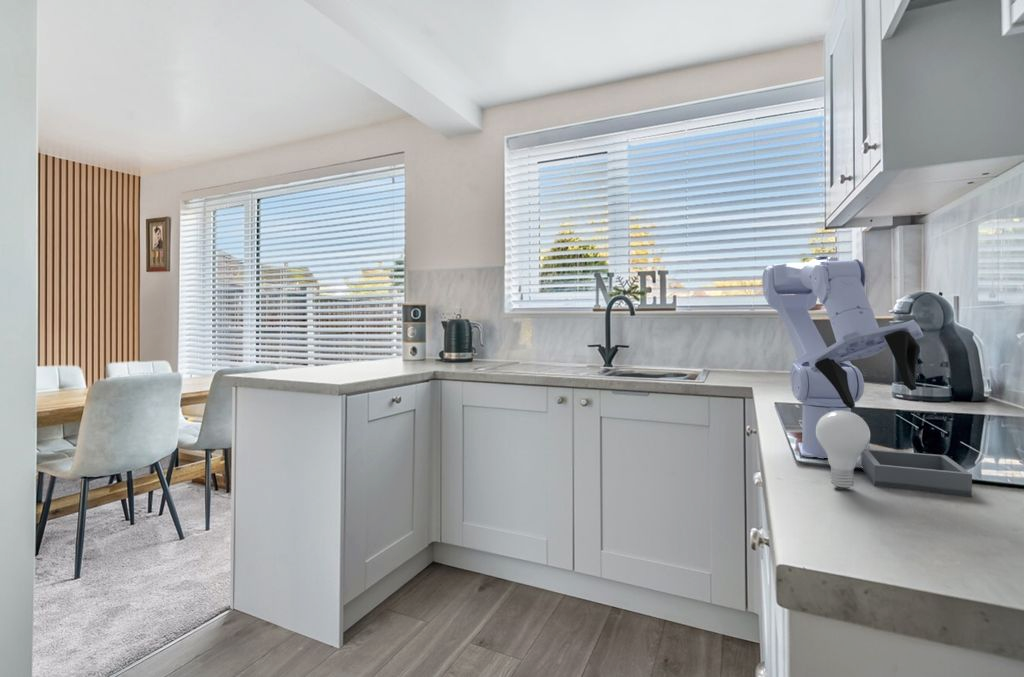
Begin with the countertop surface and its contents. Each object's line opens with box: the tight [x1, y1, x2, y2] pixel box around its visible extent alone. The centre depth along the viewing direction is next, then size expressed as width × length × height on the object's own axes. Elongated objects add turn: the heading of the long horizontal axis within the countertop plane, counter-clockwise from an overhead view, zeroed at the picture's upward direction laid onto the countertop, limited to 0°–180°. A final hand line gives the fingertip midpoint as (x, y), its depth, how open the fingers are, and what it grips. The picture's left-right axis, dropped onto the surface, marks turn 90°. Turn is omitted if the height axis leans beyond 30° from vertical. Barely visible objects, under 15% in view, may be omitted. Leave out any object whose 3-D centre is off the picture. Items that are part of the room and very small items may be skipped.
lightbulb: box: [816, 410, 871, 491], centre depth 70 cm, size 6×6×11 cm
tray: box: [860, 448, 973, 498], centre depth 74 cm, size 11×11×3 cm
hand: (878, 396), depth 70 cm, fingers open, 7 cm apart
